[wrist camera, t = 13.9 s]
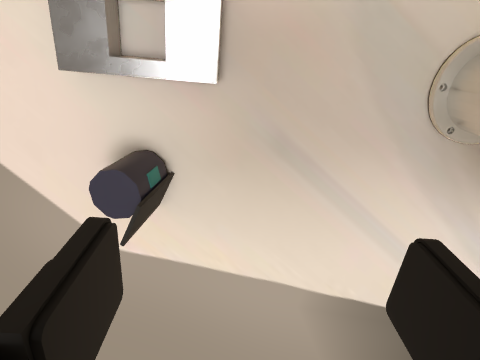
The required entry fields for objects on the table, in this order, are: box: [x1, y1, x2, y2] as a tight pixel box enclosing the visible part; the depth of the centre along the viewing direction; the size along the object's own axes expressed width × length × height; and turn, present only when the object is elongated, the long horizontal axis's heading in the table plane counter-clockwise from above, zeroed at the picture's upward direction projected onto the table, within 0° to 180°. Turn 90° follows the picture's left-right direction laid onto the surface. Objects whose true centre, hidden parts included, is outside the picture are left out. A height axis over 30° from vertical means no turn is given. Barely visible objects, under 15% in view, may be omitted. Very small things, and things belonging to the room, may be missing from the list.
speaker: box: [89, 150, 174, 246], centre depth 34 cm, size 8×6×10 cm
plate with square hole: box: [48, 0, 223, 84], centre depth 30 cm, size 16×9×4 cm, turn 85°
